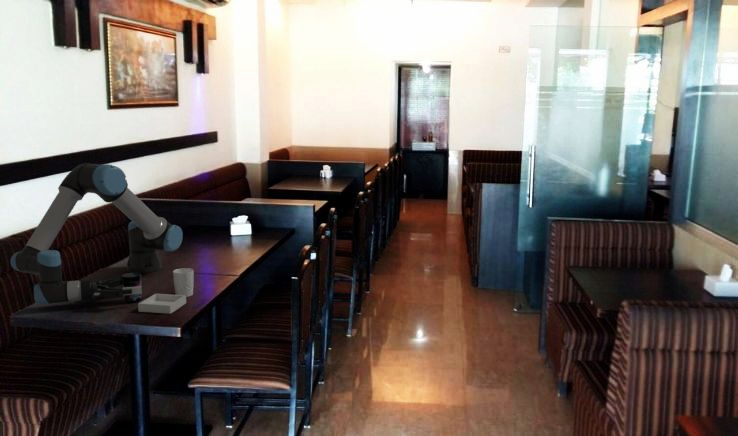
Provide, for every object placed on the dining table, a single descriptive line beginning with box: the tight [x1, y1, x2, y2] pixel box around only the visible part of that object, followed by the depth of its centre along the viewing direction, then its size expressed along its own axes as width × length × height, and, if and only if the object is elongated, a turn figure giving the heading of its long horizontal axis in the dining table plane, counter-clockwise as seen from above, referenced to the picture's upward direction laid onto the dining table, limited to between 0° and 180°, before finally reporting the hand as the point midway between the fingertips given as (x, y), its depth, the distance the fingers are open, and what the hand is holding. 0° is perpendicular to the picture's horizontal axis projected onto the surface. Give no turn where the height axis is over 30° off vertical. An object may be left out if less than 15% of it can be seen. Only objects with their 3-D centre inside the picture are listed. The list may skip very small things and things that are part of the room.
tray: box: [137, 293, 187, 314], centre depth 233 cm, size 13×13×3 cm
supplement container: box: [121, 272, 143, 304], centre depth 239 cm, size 7×7×10 cm
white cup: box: [172, 267, 195, 298], centre depth 247 cm, size 8×8×10 cm
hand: (141, 285), depth 240 cm, fingers open, 13 cm apart
